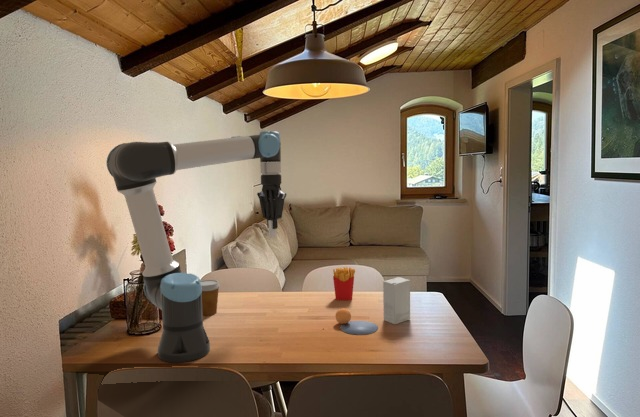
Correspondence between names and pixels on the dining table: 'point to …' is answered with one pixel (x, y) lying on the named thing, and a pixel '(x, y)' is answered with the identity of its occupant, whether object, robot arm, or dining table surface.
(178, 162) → the robot arm
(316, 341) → the dining table surface
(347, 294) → the french fries
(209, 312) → the disposable coffee cup
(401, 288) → the skincare box
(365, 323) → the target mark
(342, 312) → the ball
